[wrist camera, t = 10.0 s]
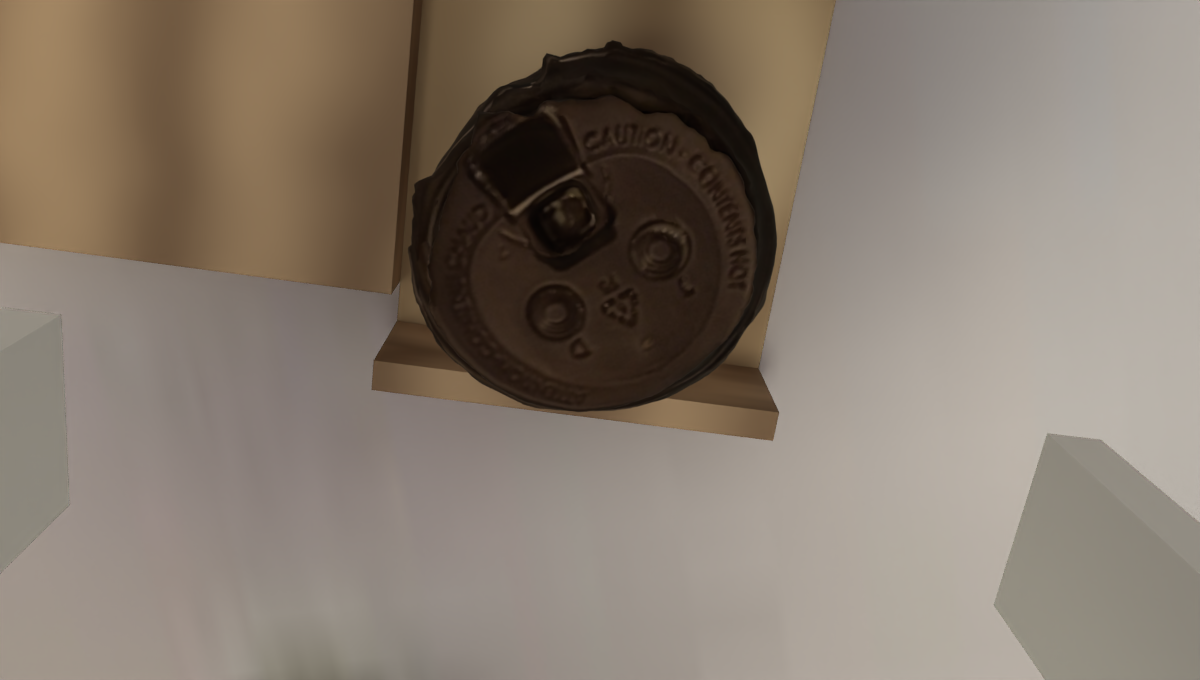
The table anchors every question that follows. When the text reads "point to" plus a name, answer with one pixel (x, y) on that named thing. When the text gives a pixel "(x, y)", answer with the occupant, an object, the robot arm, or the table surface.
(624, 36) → the wooden stepped block
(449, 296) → the coffee cup
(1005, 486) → the table surface
